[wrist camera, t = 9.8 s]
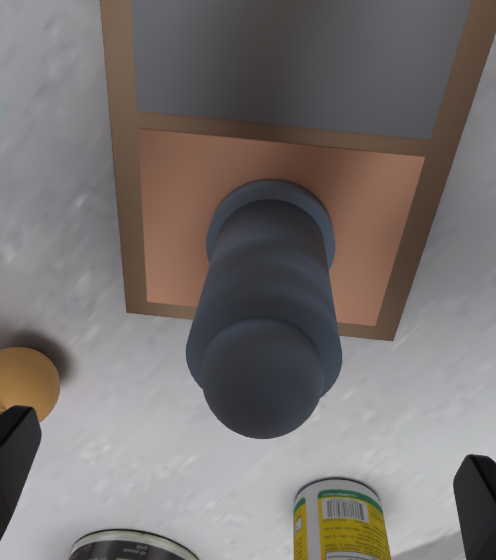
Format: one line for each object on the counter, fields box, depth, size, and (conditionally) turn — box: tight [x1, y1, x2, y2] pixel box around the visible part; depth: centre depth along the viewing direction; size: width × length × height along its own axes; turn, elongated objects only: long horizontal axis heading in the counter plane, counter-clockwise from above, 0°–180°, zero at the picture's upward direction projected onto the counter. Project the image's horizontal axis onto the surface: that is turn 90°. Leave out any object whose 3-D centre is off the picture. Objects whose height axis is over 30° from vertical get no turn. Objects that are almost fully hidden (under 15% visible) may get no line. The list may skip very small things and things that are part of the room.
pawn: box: [186, 178, 342, 439], centre depth 13 cm, size 5×5×9 cm
